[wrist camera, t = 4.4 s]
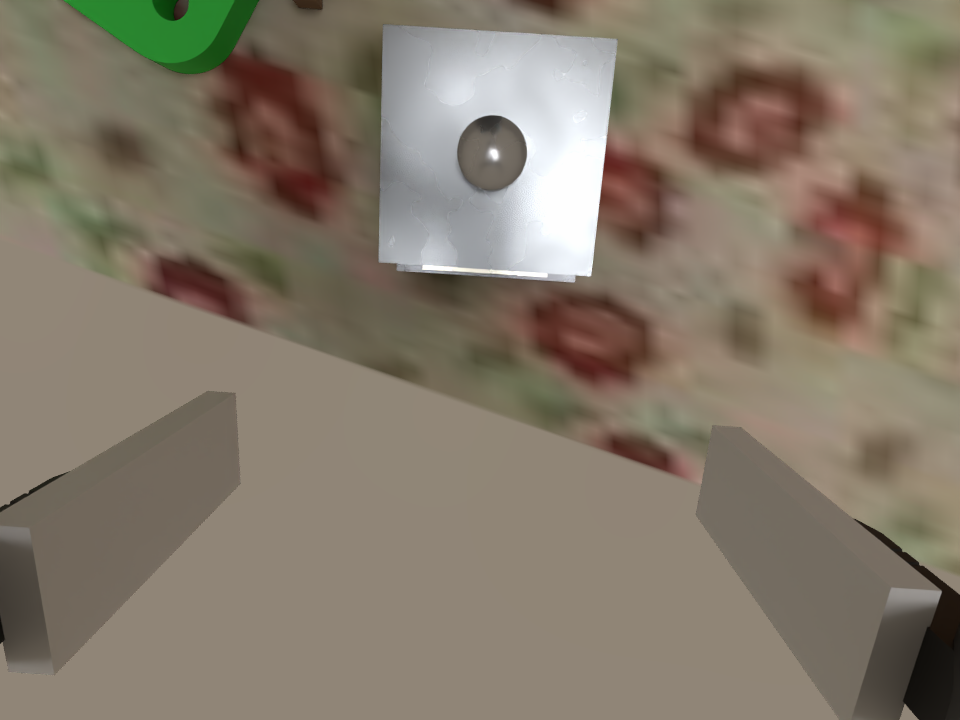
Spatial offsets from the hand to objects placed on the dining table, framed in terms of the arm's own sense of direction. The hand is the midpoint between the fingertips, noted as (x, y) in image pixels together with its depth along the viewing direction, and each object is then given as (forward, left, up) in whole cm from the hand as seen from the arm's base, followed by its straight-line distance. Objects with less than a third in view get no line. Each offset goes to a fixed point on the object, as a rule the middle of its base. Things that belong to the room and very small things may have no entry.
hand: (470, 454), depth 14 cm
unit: (-9, 0, -17) cm, 19 cm away
